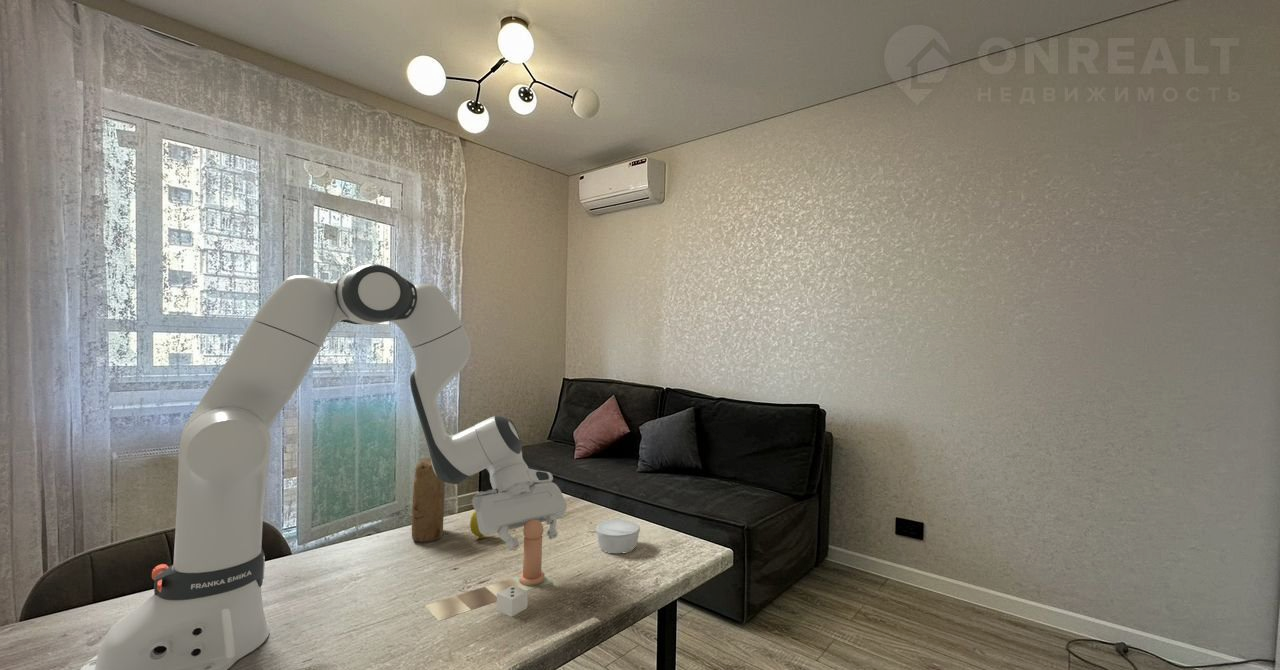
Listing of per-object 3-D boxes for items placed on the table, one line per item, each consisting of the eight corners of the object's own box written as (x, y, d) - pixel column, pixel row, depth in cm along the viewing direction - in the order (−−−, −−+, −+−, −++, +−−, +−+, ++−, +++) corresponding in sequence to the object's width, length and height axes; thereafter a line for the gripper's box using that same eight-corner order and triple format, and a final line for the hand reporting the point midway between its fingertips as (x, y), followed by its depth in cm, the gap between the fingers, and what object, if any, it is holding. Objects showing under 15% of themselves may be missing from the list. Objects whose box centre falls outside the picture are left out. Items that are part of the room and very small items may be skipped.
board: (438, 625, 90) (438, 620, 90) (424, 609, 95) (424, 605, 95) (553, 585, 106) (553, 581, 106) (535, 574, 111) (535, 570, 111)
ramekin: (599, 558, 121) (599, 536, 121) (592, 540, 132) (592, 520, 132) (644, 554, 124) (644, 533, 124) (633, 538, 135) (634, 518, 135)
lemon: (465, 538, 131) (466, 507, 131) (482, 532, 135) (483, 502, 136) (478, 543, 128) (479, 512, 128) (496, 537, 132) (497, 506, 133)
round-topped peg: (527, 588, 103) (529, 526, 103) (514, 579, 107) (516, 519, 107) (549, 581, 106) (550, 520, 107) (536, 572, 110) (538, 514, 111)
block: (441, 542, 128) (444, 463, 129) (409, 545, 126) (412, 464, 127) (445, 527, 138) (447, 454, 139) (415, 529, 136) (418, 455, 137)
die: (511, 621, 92) (512, 599, 92) (496, 615, 94) (496, 593, 94) (527, 612, 95) (527, 590, 95) (512, 606, 97) (512, 585, 98)
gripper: (474, 485, 105) (494, 547, 98) (557, 471, 119) (580, 524, 112) (464, 502, 109) (483, 562, 101) (546, 486, 122) (568, 539, 115)
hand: (534, 542), depth 106 cm, fingers open, 8 cm apart
